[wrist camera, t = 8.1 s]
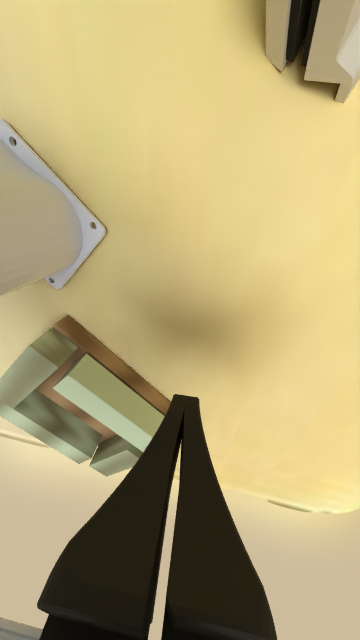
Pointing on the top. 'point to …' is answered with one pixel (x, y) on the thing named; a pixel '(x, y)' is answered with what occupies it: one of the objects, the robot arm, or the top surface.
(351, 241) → the top surface
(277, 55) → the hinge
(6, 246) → the robot arm
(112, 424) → the hinged leg
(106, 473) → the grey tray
